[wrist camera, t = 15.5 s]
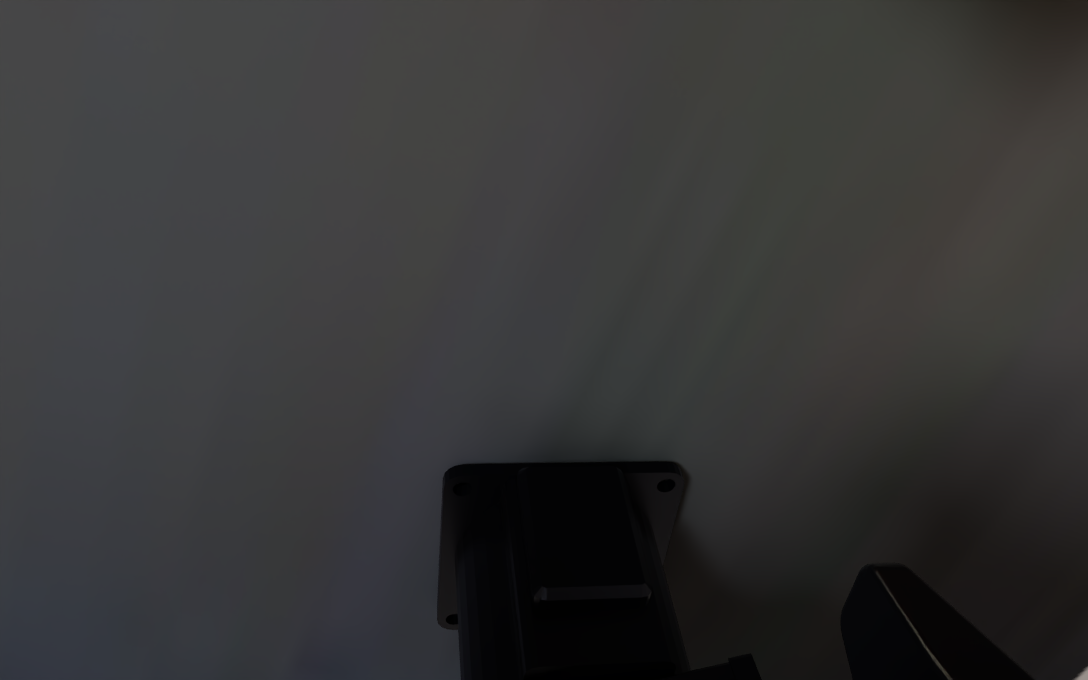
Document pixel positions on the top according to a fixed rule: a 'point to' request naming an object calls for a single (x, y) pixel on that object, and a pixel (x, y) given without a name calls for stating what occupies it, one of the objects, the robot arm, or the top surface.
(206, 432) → the top surface
